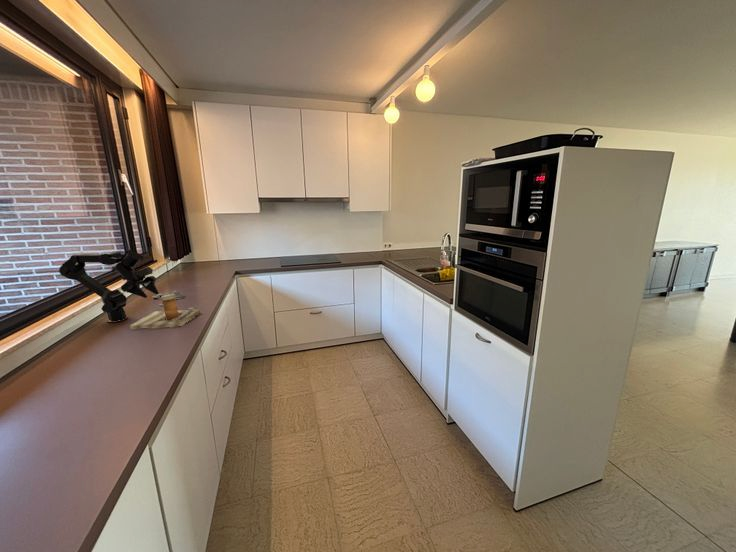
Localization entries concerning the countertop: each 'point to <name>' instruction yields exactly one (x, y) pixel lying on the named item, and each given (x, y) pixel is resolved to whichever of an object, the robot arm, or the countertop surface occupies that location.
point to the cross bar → (182, 315)
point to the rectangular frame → (157, 320)
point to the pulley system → (178, 294)
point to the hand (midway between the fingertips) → (152, 295)
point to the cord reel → (170, 306)
